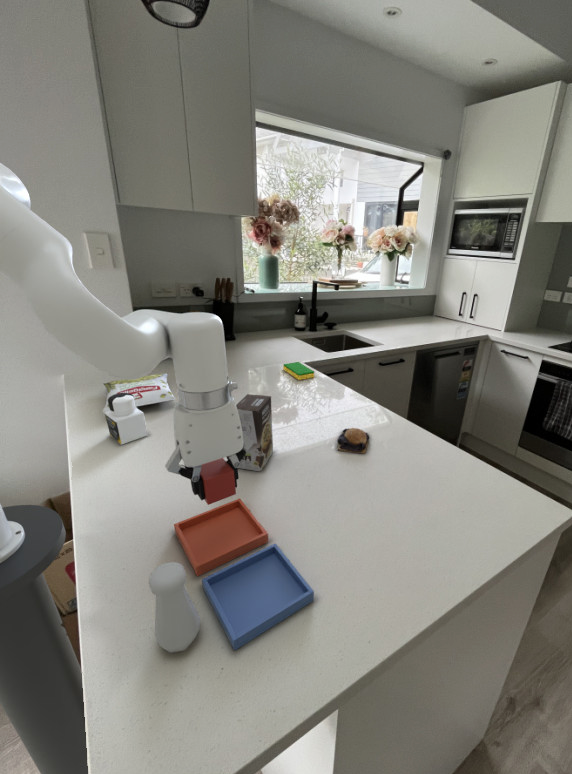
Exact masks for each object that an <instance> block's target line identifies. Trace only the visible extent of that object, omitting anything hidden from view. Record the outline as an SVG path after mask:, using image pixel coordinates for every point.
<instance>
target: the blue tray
mask: <svg viewBox="0 0 572 774" xmlns="http://www.w3.org/2000/svg"><path fill="white" fill-rule="evenodd" d="M201 583H202V589H203V591H204V593H205V596H206V597H207V599H208V601H209V603H210V605H211V607H212V609H213V611H214V613H215V615H216V617H217V619H218V621H219V623H220V625H221V627H222V629H223V631H224V633H225V635H226V637H227V639H228V641H229V643H230V645H231V647H232V649H233V651H236V650H238V649H240V648H241V647H244V645H246V644H248V643H249V642H251V641H252V640H254V639H255V638H257V637H258V636H259V635H262V634H263V633H265V632H266V631H268V630H270V629H271V628H273V627H274V626H276V625H277V624H280V622H283V621H284V620H285V619H287V618H288V617H290V616H292V615H293V614H295V613H296V612H298V611H300V610H302V609H303V608H305V607H306V606H308V605H309V604H311V603H312V602H314V601H315V599H314V597H315V591H314V590H313V588H312V587H311V586H310V584H309V583H308V582H307V581H306V580H305V578H304V577H303V576H302V574H301V573H300V571H298V569H297V568H296V567H295V566H294V564H293V563H292V562H291V560H289V558H288V557H287V556H286V554H284V552H283V551H282V549H281V548H280V546H278V544H277V543H273V544H270V545H268V546H267V547H264V548H262V549H261V550H258V551H256V552H254V553H252V554H250V555H249V556H246V557H244V558H243V559H240V560H238V561H236V562H233V563H232V564H230V565H228V566H226V567H224V568H222V569H220V570H218V571H216V572H214V573H212V574H209V575H207V576H206V577H204V578H202V579H201Z"/></svg>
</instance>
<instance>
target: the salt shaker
mask: <svg viewBox="0 0 572 774" xmlns="http://www.w3.org/2000/svg"><path fill="white" fill-rule="evenodd" d="M186 581H187V572H186V570H185V567H184V566H183V564H181V563H179V562H177V561H176V562H175V561H168V562H165V563H164V562H163V563H162V564H160V565H158V566H157V567H156V568H154V570H153V571H152V572H151V573H150V576H149V579H148V585H149V588H150V592H151V593H152V595H154V596H155V611H154V637H155V640H156V643H157V645H158V646H160V647H161V648H162V649H163V650H165V651H167V652H168V653H170V654H172V653H178V652H183V651H186V650H187V649H188V648H189V646H190V645H191V644H192V643H193V642H194V641H195V640H196V638H197V635H198V634H199V631H200V627H201V626H200V624H201V618H200V615H199V613H198V610H197V608H196V607H195V605H194V603H193V600H192V598H191V596H190V595H189V592H188V590H187V588H186V586H185V584H186Z"/></svg>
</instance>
